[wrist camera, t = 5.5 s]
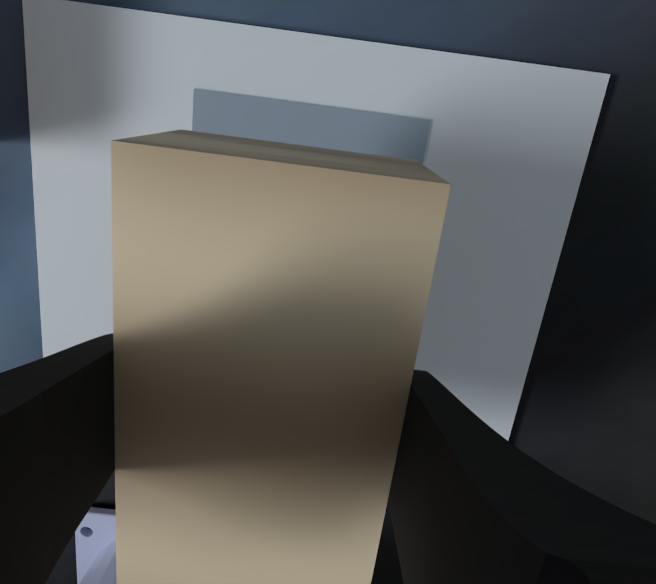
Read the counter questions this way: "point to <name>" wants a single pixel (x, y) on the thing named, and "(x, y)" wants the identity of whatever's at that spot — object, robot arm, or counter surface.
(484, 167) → the white flat plate
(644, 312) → the counter surface
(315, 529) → the slab
